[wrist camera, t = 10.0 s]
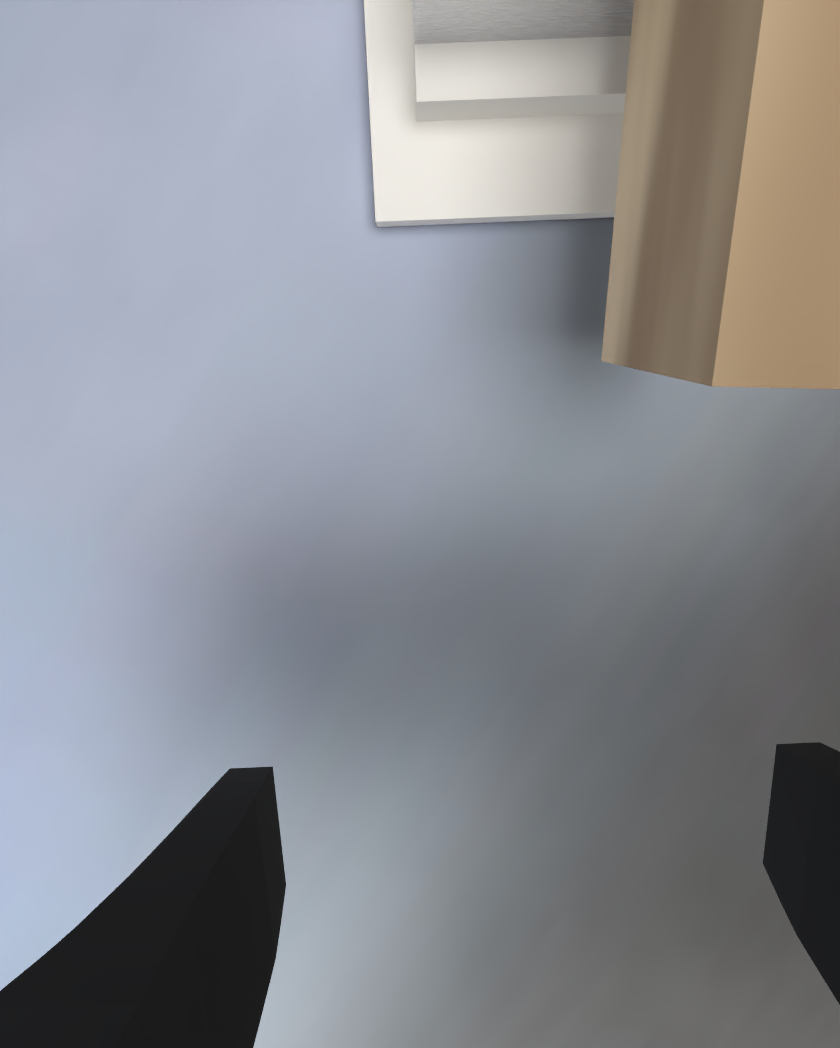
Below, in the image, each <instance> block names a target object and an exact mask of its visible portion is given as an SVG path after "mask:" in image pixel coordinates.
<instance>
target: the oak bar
mask: <svg viewBox="0 0 840 1048" xmlns="http://www.w3.org/2000/svg"><path fill="white" fill-rule="evenodd" d="M601 361H604V362H608V363H612V364H617V365H621V366H626V367H630V368H634V369H639V370H643V371H647V372H652V373H656V374H660V375H665V376H669V377H674V378H678V379H682V380H687V381H691V382H695V383H700V384H704V385H708V386H722V387H769V388H816V389H840V0H634V8H633V19H632V30H631V41H630V52H629V63H628V74H627V85H626V96H625V107H624V117H623V128H622V139H621V150H620V161H619V172H618V183H617V194H616V205H615V216H614V227H613V238H612V249H611V260H610V271H609V282H608V293H607V303H606V314H605V325H604V336H603V347H602V358H601Z"/></svg>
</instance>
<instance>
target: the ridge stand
mask: <svg viewBox="0 0 840 1048" xmlns="http://www.w3.org/2000/svg"><path fill="white" fill-rule="evenodd" d="M633 8H634V0H364V13H365V32H366V51H367V70H368V88H369V107H370V126H371V145H372V163H373V182H374V201H375V219H376V224H377V227H392V226H416V225H440V224H464V223H489V222H513V221H537V220H562V219H586V218H610V217H614V216H615V205H616V194H617V183H618V172H619V161H620V150H621V139H622V128H623V117H624V107H625V96H626V85H627V74H628V63H629V52H630V41H631V30H632V19H633Z"/></svg>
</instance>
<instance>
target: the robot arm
mask: <svg viewBox="0 0 840 1048" xmlns="http://www.w3.org/2000/svg"><path fill="white" fill-rule="evenodd" d="M763 864H764V867H765V869H766V871H767V873H768V875H769V878H770V880H771V882H772V884H773V886H774V889H775V891H776V893H777V895H778V897H779V900H780V902H781V904H782V906H783V908H784V910H785V912H786V914H787V916H788V918H789V920H790V922H791V924H792V926H793V928H794V930H795V932H796V934H797V936H798V938H799V939H800V941H801V943H802V944H803V946H804V948H805V949H806V951H807V953H808V954H809V956H810V958H811V959H812V961H813V962H814V964H815V966H816V967H817V969H818V970H819V972H820V974H821V975H822V977H823V978H824V980H825V982H826V983H827V985H828V987H829V988H830V990H831V991H832V993H833V995H834V996H835V998H836V999H837V1001H838V1003H839V1004H840V752H839V751H837V750H835V749H833V748H830V747H828V746H826V745H824V744H822V743H819V742H818V743H795V744H777V746H776V754H775V763H774V772H773V780H772V789H771V798H770V806H769V815H768V823H767V832H766V841H765V849H764V858H763ZM285 888H286V881H285V872H284V863H283V855H282V846H281V837H280V828H279V819H278V811H277V802H276V793H275V784H274V776H273V767H256V768H234V769H229V770H228V771H227V772H226V773H225V774H224V775H223V776H222V777H221V779H220V780H219V781H218V782H217V783H216V784H215V785H214V786H213V787H212V788H211V789H210V790H209V791H208V792H207V793H206V795H205V796H204V797H203V798H202V799H201V800H200V801H199V802H198V803H197V804H196V806H195V807H194V808H193V809H192V810H191V811H190V812H189V813H188V814H187V815H186V816H185V818H184V819H183V820H182V821H181V822H180V823H179V824H178V825H177V826H176V827H175V828H174V830H173V831H172V832H171V833H170V834H169V835H168V836H167V837H166V838H165V839H164V840H163V841H162V842H161V843H160V844H159V845H158V846H157V847H156V848H155V850H154V851H153V852H152V853H151V854H150V855H149V856H148V857H147V858H146V859H145V860H144V861H143V862H142V863H141V864H140V865H139V866H138V867H137V868H136V869H135V870H134V871H133V872H132V873H131V874H130V875H129V876H128V877H127V878H126V879H125V880H124V881H123V882H122V883H121V884H120V885H119V886H118V887H117V888H116V889H115V890H114V891H113V892H112V893H111V894H110V895H109V896H108V897H107V898H106V899H105V900H104V901H103V902H102V903H100V904H99V905H98V906H97V907H96V908H95V909H94V910H93V911H92V912H91V913H90V914H89V915H88V916H87V917H86V918H85V919H84V920H83V921H82V922H81V923H80V924H79V925H77V926H76V927H75V928H74V929H73V930H72V931H71V932H70V933H69V934H67V935H66V936H65V937H64V938H63V939H62V940H61V941H60V942H58V943H57V944H56V945H55V946H54V947H53V948H51V949H50V950H49V951H48V952H47V953H46V954H44V955H43V956H42V957H41V958H40V959H39V960H37V961H36V962H35V963H34V964H33V965H31V966H30V967H29V968H28V969H26V970H25V971H24V972H23V973H22V974H20V975H19V976H18V977H17V978H15V979H14V980H13V981H12V982H11V983H9V984H8V985H7V986H6V987H4V988H3V989H2V990H1V991H0V1048H253V1046H254V1042H255V1038H256V1034H257V1031H258V1027H259V1023H260V1019H261V1015H262V1011H263V1007H264V1003H265V999H266V995H267V991H268V987H269V983H270V979H271V975H272V971H273V967H274V963H275V959H276V952H277V945H278V939H279V932H280V925H281V918H282V910H283V903H284V896H285Z"/></svg>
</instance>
